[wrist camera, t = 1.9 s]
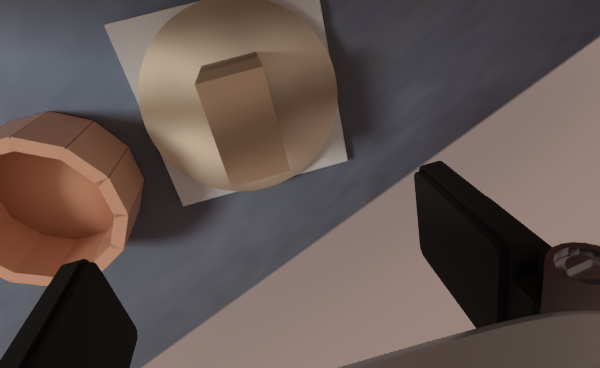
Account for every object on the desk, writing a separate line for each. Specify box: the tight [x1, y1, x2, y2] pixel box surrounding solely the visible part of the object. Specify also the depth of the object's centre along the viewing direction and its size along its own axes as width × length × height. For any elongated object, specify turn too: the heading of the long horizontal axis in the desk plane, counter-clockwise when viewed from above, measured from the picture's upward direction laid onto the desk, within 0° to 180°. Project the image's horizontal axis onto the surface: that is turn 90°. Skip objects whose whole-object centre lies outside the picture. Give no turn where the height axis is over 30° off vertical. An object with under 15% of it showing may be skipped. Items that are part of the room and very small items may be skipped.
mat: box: [104, 0, 348, 206], centre depth 26 cm, size 13×13×1 cm
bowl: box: [0, 111, 144, 286], centre depth 25 cm, size 10×10×5 cm
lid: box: [138, 0, 338, 191], centre depth 23 cm, size 13×13×6 cm
